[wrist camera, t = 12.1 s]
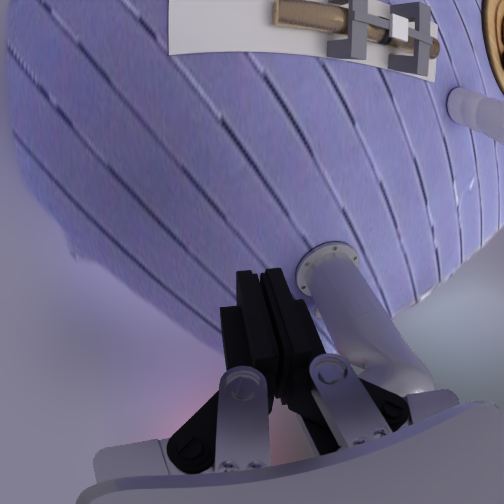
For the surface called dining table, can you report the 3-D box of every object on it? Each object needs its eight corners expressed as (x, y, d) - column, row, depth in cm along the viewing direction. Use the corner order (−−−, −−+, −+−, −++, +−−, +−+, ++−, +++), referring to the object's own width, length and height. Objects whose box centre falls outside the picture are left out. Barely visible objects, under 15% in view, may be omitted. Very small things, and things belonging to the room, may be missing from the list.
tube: (422, 35, 29) (440, 36, 26) (421, 59, 32) (439, 61, 28) (272, -1, 26) (281, -8, 22) (271, 28, 28) (280, 24, 25)
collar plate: (430, 81, 35) (468, 92, 28) (169, 55, 29) (161, 51, 22) (433, 24, 29) (472, 26, 22) (170, -19, 23) (163, -41, 16)
